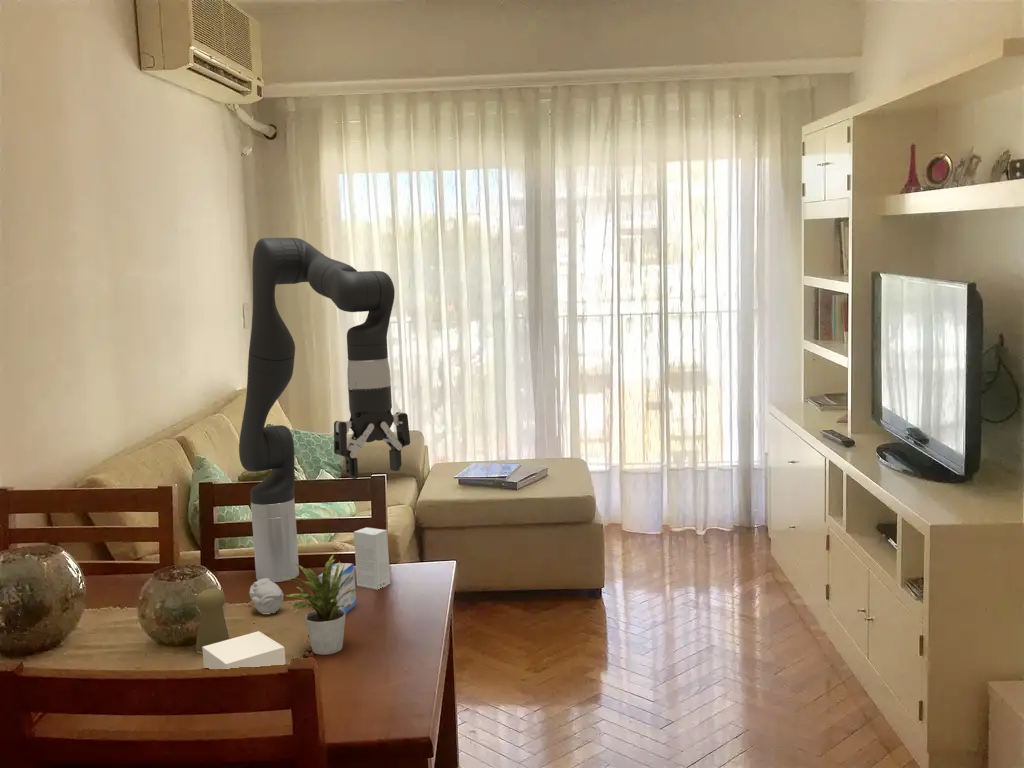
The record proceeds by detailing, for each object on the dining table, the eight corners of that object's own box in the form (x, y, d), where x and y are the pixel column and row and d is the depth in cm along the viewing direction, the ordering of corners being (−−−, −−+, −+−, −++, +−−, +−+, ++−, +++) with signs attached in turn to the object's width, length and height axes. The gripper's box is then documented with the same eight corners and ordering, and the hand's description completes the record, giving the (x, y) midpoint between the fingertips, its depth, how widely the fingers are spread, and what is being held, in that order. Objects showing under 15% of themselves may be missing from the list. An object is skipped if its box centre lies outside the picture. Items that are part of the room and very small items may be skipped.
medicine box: (342, 619, 182) (339, 575, 181) (320, 618, 183) (317, 574, 182) (356, 605, 190) (354, 563, 189) (335, 604, 191) (333, 562, 190)
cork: (200, 644, 172) (195, 586, 171) (234, 642, 172) (230, 583, 171) (192, 658, 166) (187, 597, 165) (227, 655, 166) (222, 594, 165)
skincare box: (391, 584, 202) (388, 529, 201) (377, 590, 198) (374, 534, 197) (369, 580, 205) (366, 526, 204) (355, 586, 202) (352, 531, 200)
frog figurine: (266, 606, 191) (264, 572, 190) (292, 611, 188) (290, 577, 187) (243, 616, 186) (241, 581, 185) (269, 621, 182) (267, 586, 182)
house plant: (292, 633, 176) (287, 547, 174) (367, 629, 176) (363, 543, 175) (278, 664, 161) (272, 571, 160) (360, 660, 162) (354, 567, 160)
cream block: (204, 675, 159) (202, 646, 158) (260, 658, 165) (258, 631, 165) (228, 694, 151) (226, 664, 151) (286, 676, 158) (284, 647, 157)
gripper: (392, 379, 176) (397, 465, 177) (323, 387, 167) (328, 477, 169) (414, 381, 170) (419, 471, 172) (344, 390, 161) (349, 484, 163)
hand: (374, 474), depth 170 cm, fingers open, 8 cm apart
